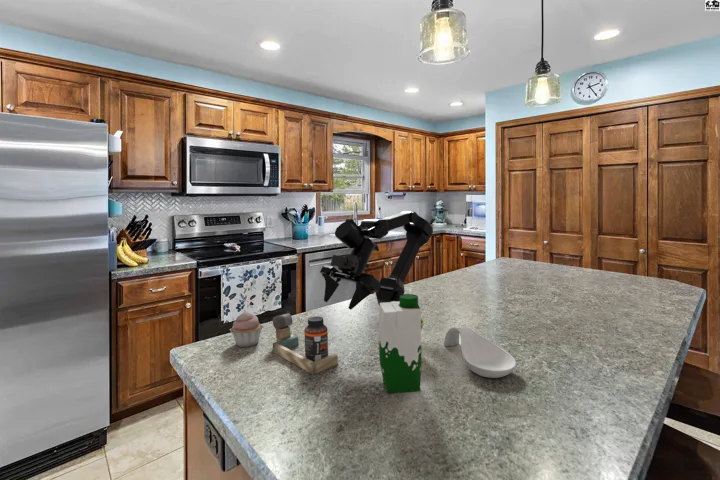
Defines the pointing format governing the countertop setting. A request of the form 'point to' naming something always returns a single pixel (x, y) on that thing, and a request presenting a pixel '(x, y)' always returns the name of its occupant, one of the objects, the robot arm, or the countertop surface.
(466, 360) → the spoon rest
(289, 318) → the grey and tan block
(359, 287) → the robot arm
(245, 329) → the cupcake
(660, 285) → the countertop surface
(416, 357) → the milk carton
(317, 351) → the supplement bottle
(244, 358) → the countertop surface
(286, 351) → the frame
